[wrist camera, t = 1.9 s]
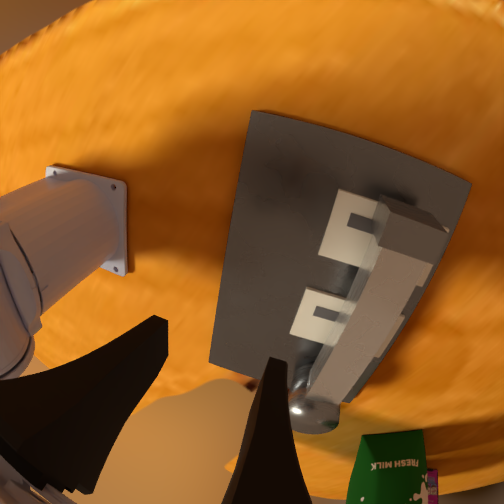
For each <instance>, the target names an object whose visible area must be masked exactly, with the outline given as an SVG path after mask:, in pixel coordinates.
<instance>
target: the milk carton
mask: <svg viewBox="0 0 504 504" xmlns="http://www.w3.org/2000/svg"><path fill="white" fill-rule="evenodd" d="M346 504H428V477H427V463H426V454H425V446H424V438H423V430H416V431H408V432H399V433H389V434H377V435H362V438H361V442H360V446H359V450H358V453H357V457H356V461H355V464H354V468H353V471H352V474H351V478H350V482H349V487H348V492H347V499H346Z"/></svg>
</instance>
